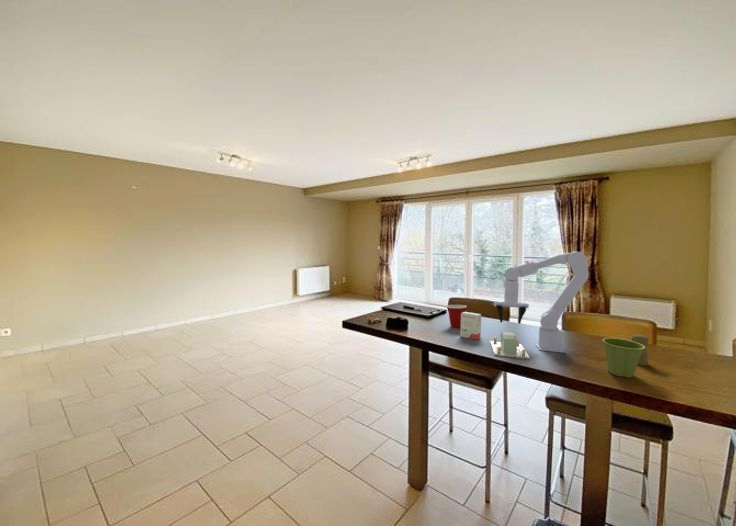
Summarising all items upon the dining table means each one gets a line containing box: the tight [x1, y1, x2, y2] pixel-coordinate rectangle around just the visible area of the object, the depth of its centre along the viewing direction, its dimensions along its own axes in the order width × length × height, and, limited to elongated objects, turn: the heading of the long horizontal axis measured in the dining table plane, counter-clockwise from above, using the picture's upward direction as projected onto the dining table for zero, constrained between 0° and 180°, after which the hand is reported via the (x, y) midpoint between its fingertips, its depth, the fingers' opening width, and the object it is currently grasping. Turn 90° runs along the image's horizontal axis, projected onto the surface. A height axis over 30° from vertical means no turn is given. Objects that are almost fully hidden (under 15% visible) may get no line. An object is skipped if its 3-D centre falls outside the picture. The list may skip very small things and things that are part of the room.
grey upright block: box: [630, 334, 650, 366], centre depth 123 cm, size 6×6×11 cm
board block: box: [500, 331, 518, 353], centre depth 135 cm, size 5×10×6 cm, turn 164°
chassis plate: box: [489, 336, 530, 360], centre depth 135 cm, size 13×17×3 cm
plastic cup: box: [446, 304, 467, 329], centre depth 171 cm, size 11×11×12 cm
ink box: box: [460, 311, 482, 341], centre depth 153 cm, size 9×5×12 cm, turn 50°
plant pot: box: [601, 337, 645, 379], centre depth 112 cm, size 12×12×11 cm
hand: (510, 322), depth 145 cm, fingers open, 7 cm apart
